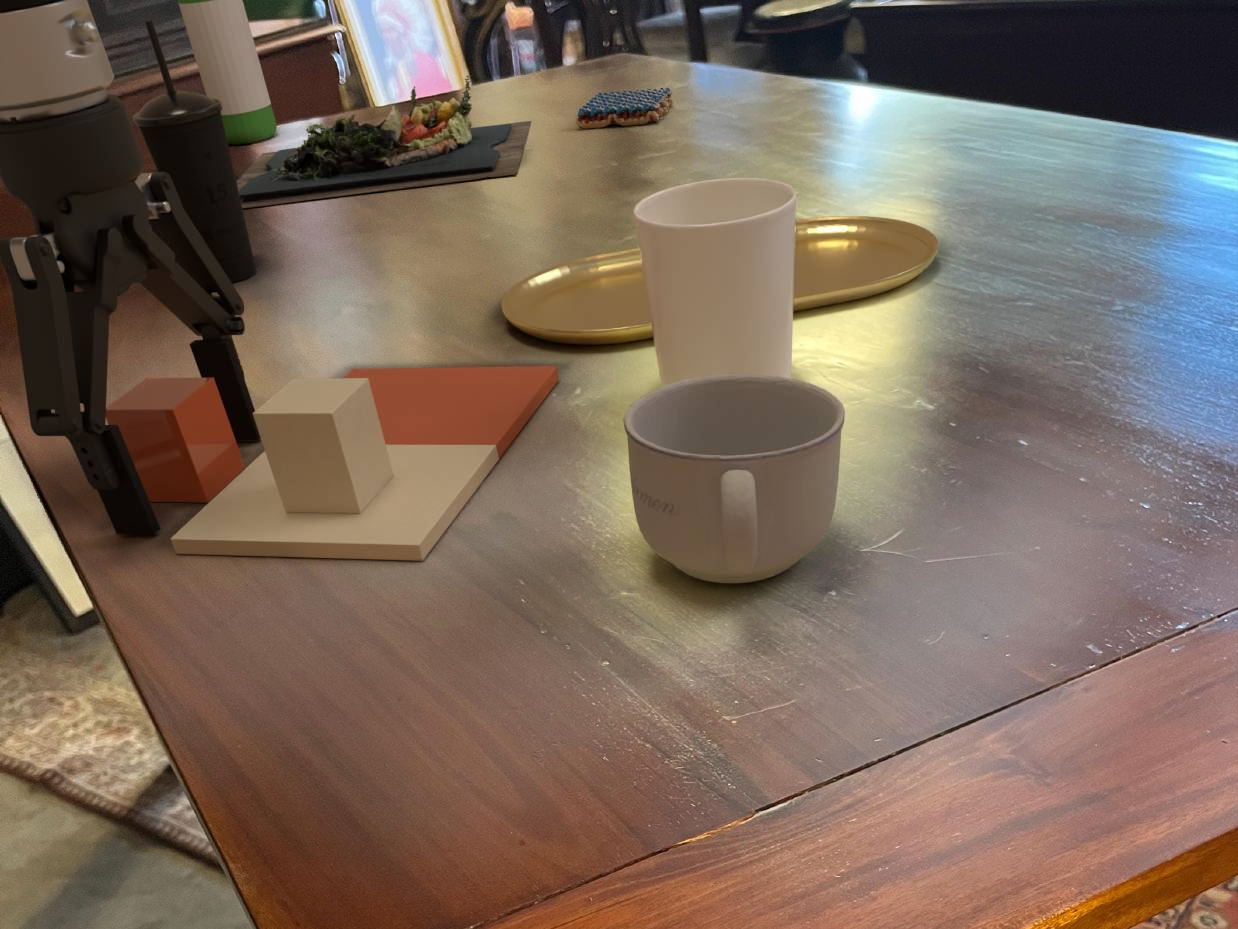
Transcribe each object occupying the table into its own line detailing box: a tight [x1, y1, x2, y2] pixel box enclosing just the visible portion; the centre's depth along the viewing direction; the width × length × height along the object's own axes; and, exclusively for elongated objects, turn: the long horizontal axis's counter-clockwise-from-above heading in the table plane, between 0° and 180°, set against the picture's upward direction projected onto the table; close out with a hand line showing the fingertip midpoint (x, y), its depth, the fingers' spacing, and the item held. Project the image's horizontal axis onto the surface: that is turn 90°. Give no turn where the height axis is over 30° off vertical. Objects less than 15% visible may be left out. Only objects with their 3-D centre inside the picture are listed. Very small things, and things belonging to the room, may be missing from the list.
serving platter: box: [500, 215, 939, 346], centre depth 96 cm, size 19×35×2 cm, turn 103°
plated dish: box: [236, 74, 532, 209], centre depth 140 cm, size 35×28×7 cm
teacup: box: [622, 374, 846, 584], centre depth 61 cm, size 14×11×8 cm
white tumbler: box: [632, 177, 798, 387], centre depth 76 cm, size 10×10×12 cm
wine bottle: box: [177, 0, 277, 146], centre depth 151 cm, size 8×8×30 cm
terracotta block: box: [106, 377, 246, 504], centre depth 77 cm, size 5×5×6 cm
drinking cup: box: [132, 19, 257, 284], centre depth 107 cm, size 8×8×20 cm
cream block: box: [253, 377, 394, 514], centre depth 71 cm, size 5×5×6 cm
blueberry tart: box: [574, 87, 674, 129], centre depth 146 cm, size 10×11×2 cm
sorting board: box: [169, 365, 560, 562], centre depth 78 cm, size 16×26×1 cm, turn 166°
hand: (194, 483), depth 79 cm, fingers open, 13 cm apart
